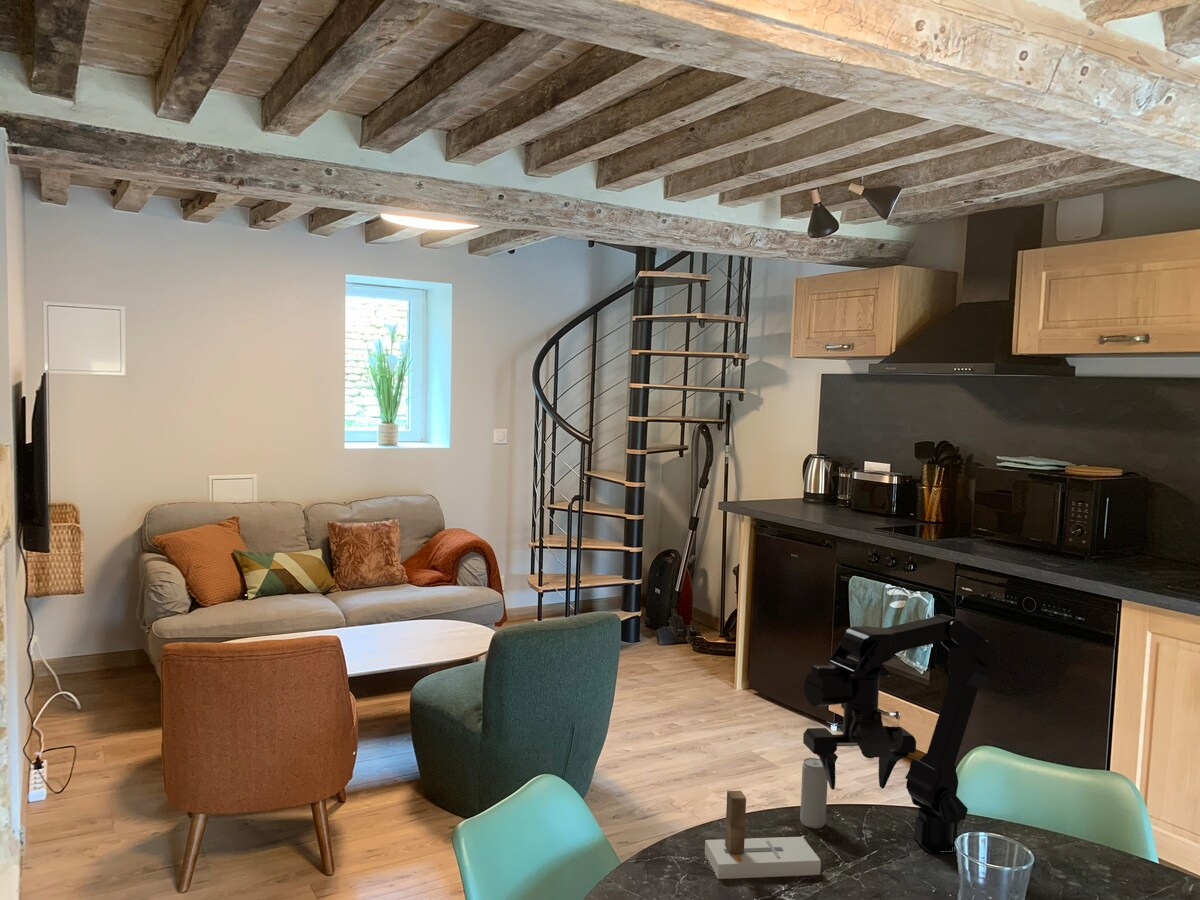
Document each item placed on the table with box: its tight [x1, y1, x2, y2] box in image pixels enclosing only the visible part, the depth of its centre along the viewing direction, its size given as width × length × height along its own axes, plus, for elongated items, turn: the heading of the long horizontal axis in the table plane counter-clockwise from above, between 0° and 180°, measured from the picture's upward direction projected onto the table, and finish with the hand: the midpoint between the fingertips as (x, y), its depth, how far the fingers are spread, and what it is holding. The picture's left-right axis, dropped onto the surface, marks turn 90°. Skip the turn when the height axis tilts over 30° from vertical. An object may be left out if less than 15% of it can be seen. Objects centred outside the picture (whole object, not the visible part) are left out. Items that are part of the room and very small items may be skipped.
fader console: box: [704, 836, 822, 880], centre depth 156 cm, size 18×9×3 cm, turn 98°
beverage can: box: [799, 757, 829, 830], centre depth 172 cm, size 5×5×12 cm
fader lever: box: [724, 790, 747, 854], centre depth 155 cm, size 2×3×10 cm
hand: (857, 788), depth 158 cm, fingers open, 9 cm apart
